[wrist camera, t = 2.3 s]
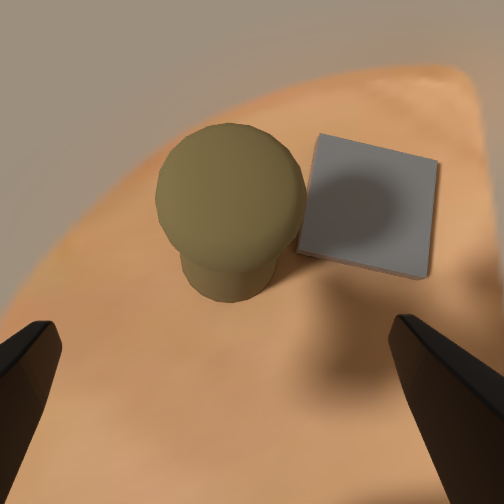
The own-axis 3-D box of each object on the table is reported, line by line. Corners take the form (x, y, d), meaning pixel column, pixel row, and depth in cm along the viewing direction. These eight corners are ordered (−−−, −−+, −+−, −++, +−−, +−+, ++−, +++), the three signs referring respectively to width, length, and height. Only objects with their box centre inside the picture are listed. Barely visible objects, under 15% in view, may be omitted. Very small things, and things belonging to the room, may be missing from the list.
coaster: (417, 280, 21) (426, 278, 20) (295, 252, 21) (298, 249, 20) (428, 167, 23) (437, 160, 22) (316, 141, 23) (320, 133, 22)
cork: (287, 221, 22) (347, 119, 11) (264, 314, 20) (308, 301, 10) (196, 197, 22) (165, 69, 11) (167, 288, 20) (100, 246, 9)
